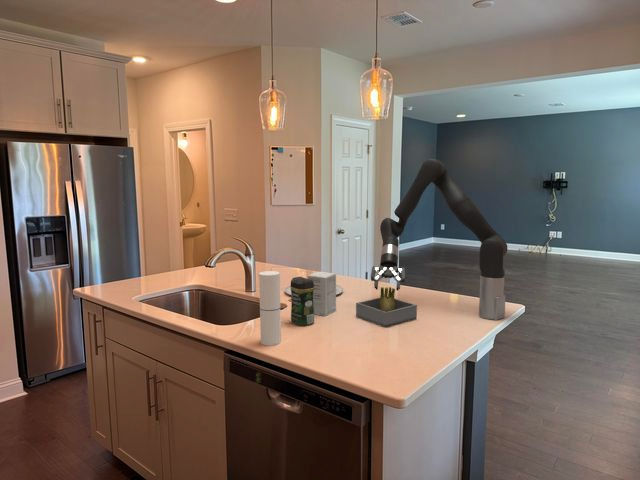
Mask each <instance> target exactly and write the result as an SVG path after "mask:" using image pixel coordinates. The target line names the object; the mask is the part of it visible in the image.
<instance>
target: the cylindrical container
mask: <svg viewBox="0 0 640 480" xmlns="http://www.w3.org/2000/svg"><path fill="white" fill-rule="evenodd" d="M258 282H259V283H258V284H259V287H258V288H259V321H260V325H259V327H260V328H259V330H260V344H261V345H263V346H266V347H267V346H269V347H270V346H271V347H272V346H277V345H280V344H281V342H282V331H281V330H282V329H281V328H282V325H281V323H282V321H281V320H282V319H281V274H280V271H275V270H266V271H261V272H259V273H258Z"/></svg>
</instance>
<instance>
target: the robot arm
mask: <svg viewBox="0 0 640 480" xmlns="http://www.w3.org/2000/svg"><path fill="white" fill-rule="evenodd" d="M431 183H433V185H434V186H435V187H436V188H437V189H438V190H439V191H440V193H441V194H442V196H443V198H444V200H445V203H446V205H447V207H448V208H449V210H450V211H451V213H452V214H453V215H454V217H455V218H456V219H457V220H458V221H459V223H460V224H462V225H463V226H464V227H466V229H468V230H470V232H471V233H473V234H474V235H475V236H476V237H477V239H478V240H479V242H480V243H481V244H480V247H479V266H478V267H479V271H480V276H479V277H480V278H479V279H480V280H479V281H480V282H479V297H478V299H479V300H478V301H479V303H478V316H479V317H480V318H482V319H487V320H493V319H494V321H498V320H501V319H503V318H505V317H506V314H505V313H506V295H505V294H504V289H505V274H506V273H505V272H506V271H505V269H504V256H506V255H507V253H508V243H507V242H506V240H505V239H504V238H503V237H502V236H501V235H500V234H499V233H498V232H497V231H496V230H495V229H494V228H493V227H492V226H491V224H490V223H489V222H488V220H487V219H486V218H485V216H484V215H483V214H482V212H481V211H480V209H478V207H477V205H476V204H475V203H474V202H473V200H472V199H471V197H469V195H468V194H467V193H466V192H465V191H464V190H463V189H462V188H461V186H459V184H458V183H457V182H456V181H455V180H454V178H453V177H452V176H451V174H450V172H449V170H448V169H447V167H446V166H445V164H444V163H443V162H442V161H440V160H439V159H437V158H428V159H426V160H425V161H423V163H422V164H421V166H420V168H419V170H418V172H417V175H416V176H415V179H414V180H413V182H412V183H411V186H410V187H409V189H408V190H407V192H406V194H405V195H404V197H403V198H402V199H401V201H400V202H399V203H398V205H397V206H396V208H395V210H394V211H393V212H394V213H393V214H394V215H395V216H396V217H397V218H398V221H396V220H394V219H392V218H390V217H385V218H384V219H383V220H381V223H380V226H379V228H380V230H379V231H380V236H381V239H382V246H381V247H382V248H381V252H380V260H379V261H380V262H379V266H378V267H376V266H372V268H371V273H370V280H371V282H374V285H373V286H374V287H373V288H374V289H375V290H378V288H379V281H380V280H382V279H383V278H384V279H387V278H388V279H392V278H393V279H394V281H396V285H395V286H396V288H395V291H396V292H397V291H399V290H400V289H401V284H402V283H405V282H406V269H405V267H403V266H402V267H401V268H399V243H400V242H399V241H400V240H399V237H401V236H402V234H403V233H404V230H405V227H406V225H407V222H408V220H409V218H410V217H411V215H412V214H413V212H414V211H415V210H416V208H417V207H418V205H419V202H420V200H421V198H422V195H423V194H424V193H425V191H426V189H427V188H428V186H429V185H430V184H431ZM377 272H378V273H377ZM398 273H400V274H401V277H400V276H399V275H398ZM376 274H377V275H376ZM375 275H376V276H375Z"/></svg>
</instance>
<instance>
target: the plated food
mask: <svg viewBox="0 0 640 480" xmlns="http://www.w3.org/2000/svg"><path fill="white" fill-rule="evenodd" d="M290 286H291V285H288V286H287V287H285V288H284V293H286V294H287V295H290V296H292V295H291V287H290ZM343 292H344V287H342V286H341V285H338V284H336V296H337V295H340V294H342V293H343Z"/></svg>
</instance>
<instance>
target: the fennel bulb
mask: <svg viewBox="0 0 640 480" xmlns="http://www.w3.org/2000/svg"><path fill="white" fill-rule="evenodd" d="M395 292H396V288H395V287H394V288H393V287H391V286H388V287H383V286H381V287H380V296H379V298H380V310H382V311H385V312H388V311H392V310H395V303H394V299H395V294H396V293H395Z"/></svg>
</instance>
